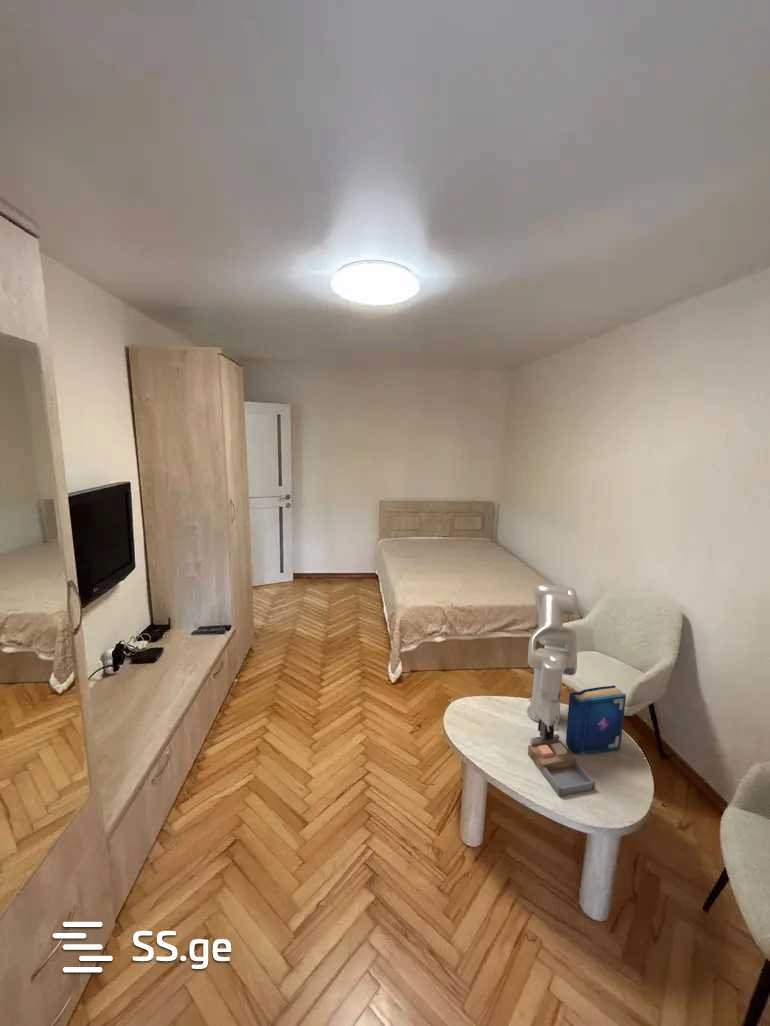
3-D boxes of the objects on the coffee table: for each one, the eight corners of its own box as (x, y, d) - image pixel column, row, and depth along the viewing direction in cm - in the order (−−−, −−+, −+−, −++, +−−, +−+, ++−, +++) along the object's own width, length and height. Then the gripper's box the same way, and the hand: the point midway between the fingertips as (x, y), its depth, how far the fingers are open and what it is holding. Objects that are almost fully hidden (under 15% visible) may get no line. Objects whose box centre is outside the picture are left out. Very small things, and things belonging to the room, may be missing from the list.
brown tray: (527, 754, 165) (528, 745, 164) (559, 749, 168) (560, 740, 167) (542, 774, 155) (543, 764, 155) (575, 768, 158) (576, 759, 158)
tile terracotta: (537, 749, 162) (537, 746, 162) (546, 748, 163) (546, 744, 163) (543, 757, 158) (543, 753, 158) (552, 755, 159) (553, 752, 159)
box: (542, 774, 155) (543, 767, 155) (575, 768, 158) (576, 761, 158) (559, 796, 146) (559, 789, 145) (594, 789, 149) (595, 782, 148)
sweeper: (528, 741, 166) (531, 718, 164) (555, 737, 168) (558, 714, 167) (533, 746, 163) (535, 723, 161) (560, 742, 166) (562, 719, 164)
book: (572, 758, 163) (579, 700, 159) (561, 745, 170) (567, 689, 166) (620, 750, 168) (628, 694, 163) (608, 738, 174) (615, 683, 170)
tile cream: (551, 747, 163) (551, 744, 163) (560, 745, 164) (560, 742, 164) (557, 755, 159) (557, 751, 159) (566, 753, 160) (567, 750, 160)
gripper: (528, 681, 169) (525, 721, 172) (554, 707, 153) (549, 751, 156) (545, 679, 170) (541, 719, 174) (572, 705, 154) (567, 748, 158)
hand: (545, 734), depth 165 cm, fingers open, 4 cm apart
